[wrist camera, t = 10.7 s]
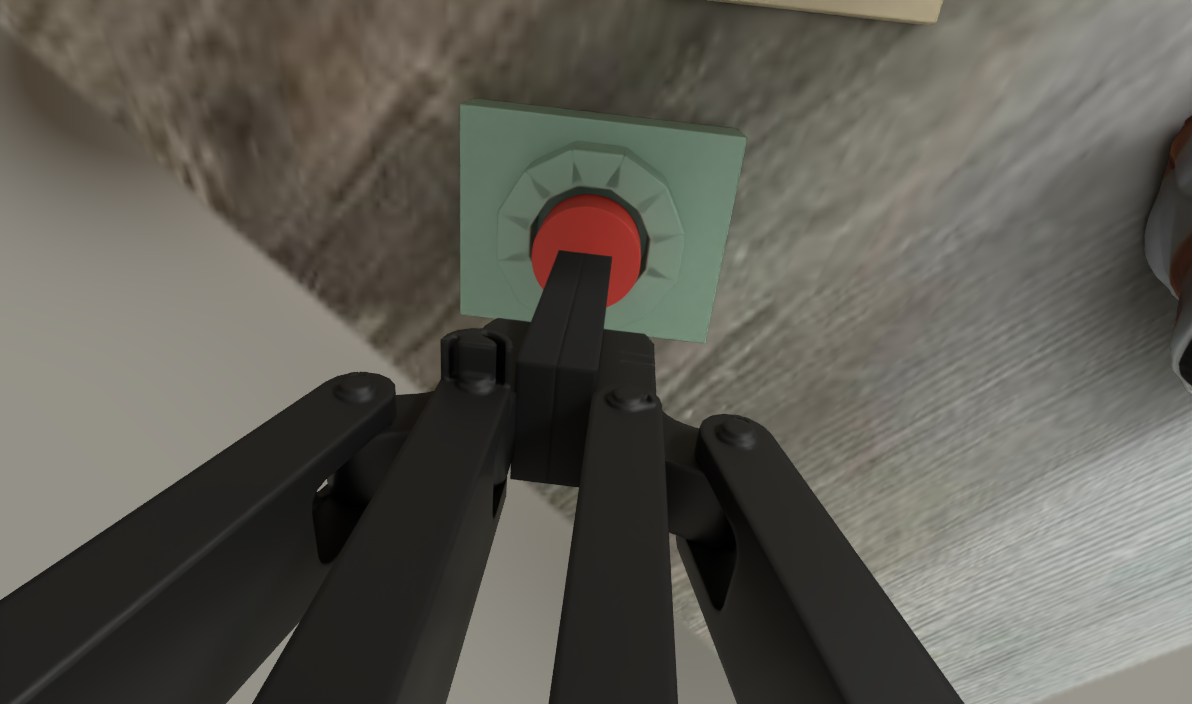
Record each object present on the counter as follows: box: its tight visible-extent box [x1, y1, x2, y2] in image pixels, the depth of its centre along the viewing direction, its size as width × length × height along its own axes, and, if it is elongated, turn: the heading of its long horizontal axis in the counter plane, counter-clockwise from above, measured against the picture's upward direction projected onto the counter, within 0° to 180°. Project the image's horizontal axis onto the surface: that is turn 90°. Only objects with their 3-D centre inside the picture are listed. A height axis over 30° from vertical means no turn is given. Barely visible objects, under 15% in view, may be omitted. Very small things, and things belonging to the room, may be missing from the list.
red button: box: [532, 194, 641, 308], centre depth 21 cm, size 4×4×2 cm
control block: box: [460, 98, 747, 343], centre depth 23 cm, size 10×8×4 cm
